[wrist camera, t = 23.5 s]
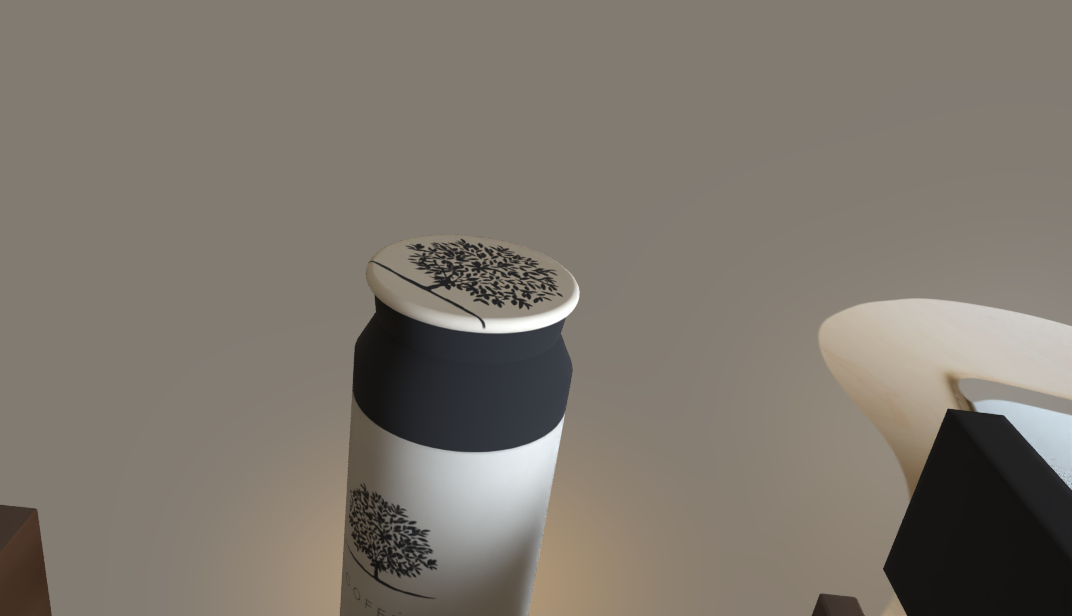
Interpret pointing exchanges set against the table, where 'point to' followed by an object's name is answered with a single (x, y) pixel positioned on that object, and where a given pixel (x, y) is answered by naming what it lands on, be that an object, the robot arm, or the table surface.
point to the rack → (22, 592)
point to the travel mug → (454, 427)
